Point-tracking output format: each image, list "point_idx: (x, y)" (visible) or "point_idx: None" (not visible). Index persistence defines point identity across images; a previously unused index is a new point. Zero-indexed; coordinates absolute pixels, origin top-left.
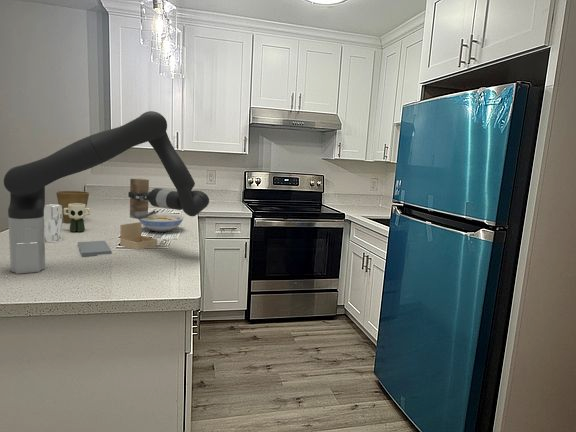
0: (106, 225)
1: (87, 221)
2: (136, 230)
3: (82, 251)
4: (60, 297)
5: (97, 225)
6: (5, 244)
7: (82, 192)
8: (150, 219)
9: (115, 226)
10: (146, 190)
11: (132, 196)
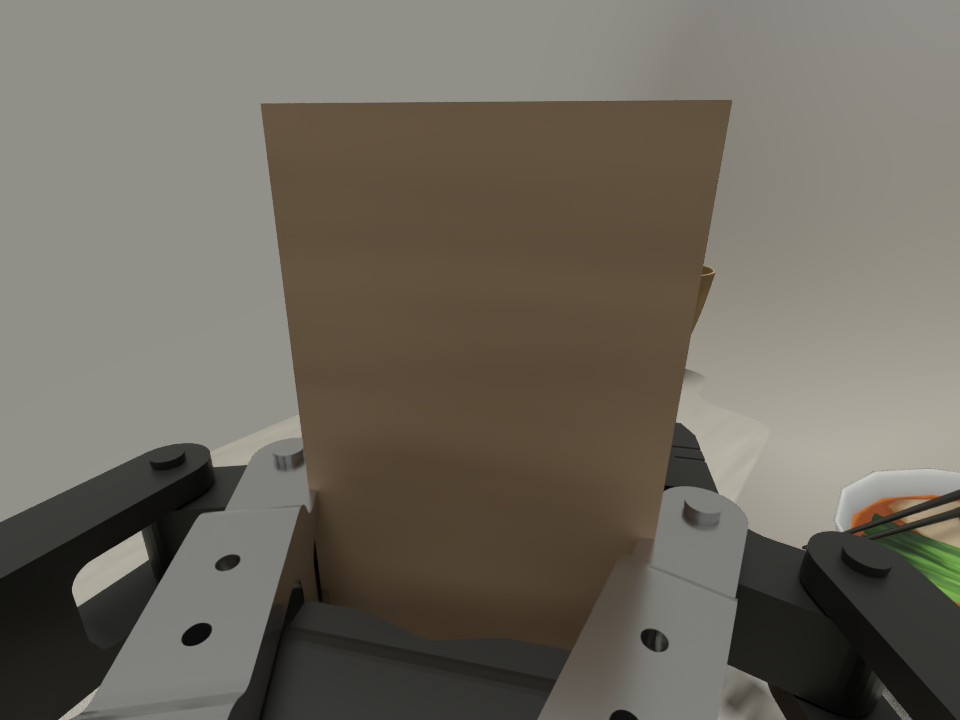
0: (718, 434)
1: (689, 382)
2: None
3: None
4: None
5: (684, 420)
6: (272, 426)
7: (704, 269)
8: (950, 557)
9: (746, 459)
10: (581, 478)
11: (147, 540)
